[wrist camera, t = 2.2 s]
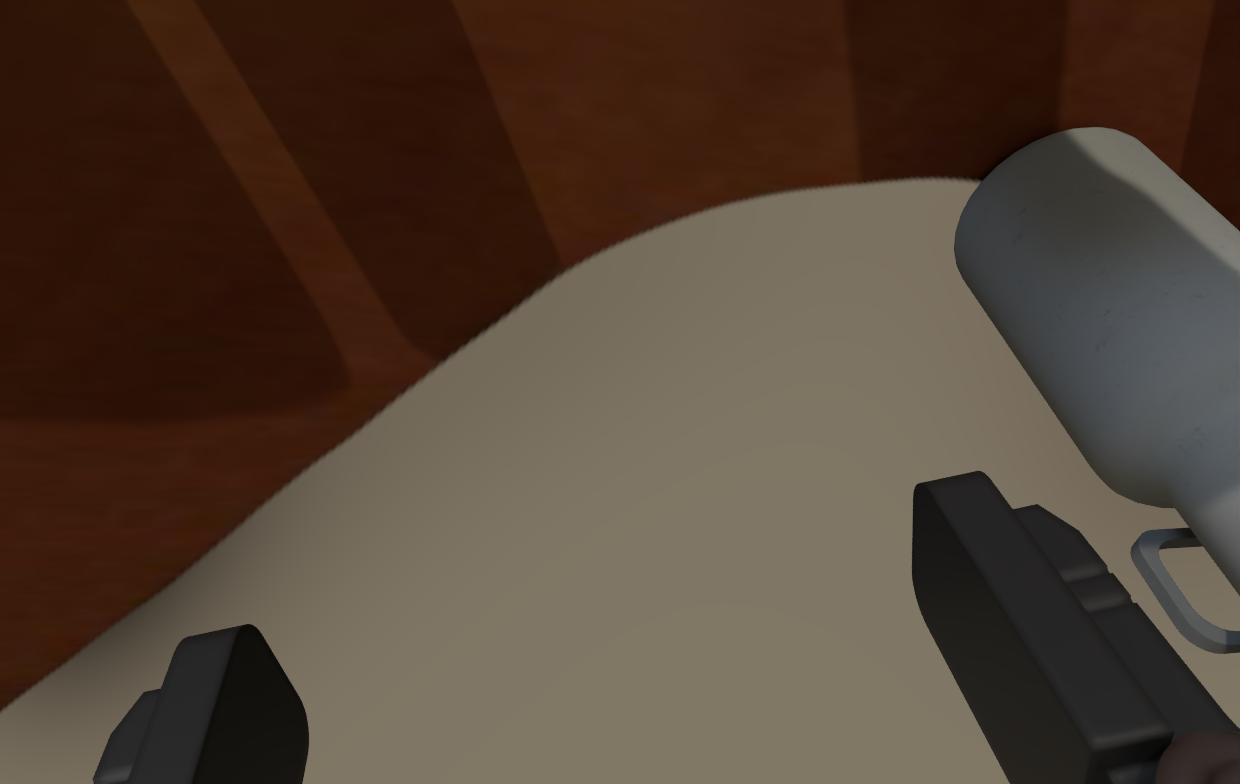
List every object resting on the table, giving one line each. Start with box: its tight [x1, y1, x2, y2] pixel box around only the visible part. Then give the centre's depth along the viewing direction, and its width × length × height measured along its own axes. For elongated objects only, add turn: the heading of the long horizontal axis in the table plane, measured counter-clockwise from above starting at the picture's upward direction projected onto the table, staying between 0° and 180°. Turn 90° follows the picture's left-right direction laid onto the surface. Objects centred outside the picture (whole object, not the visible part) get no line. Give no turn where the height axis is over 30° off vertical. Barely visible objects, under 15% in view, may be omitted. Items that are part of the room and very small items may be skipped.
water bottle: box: [954, 127, 1240, 654], centre depth 35 cm, size 10×10×28 cm
